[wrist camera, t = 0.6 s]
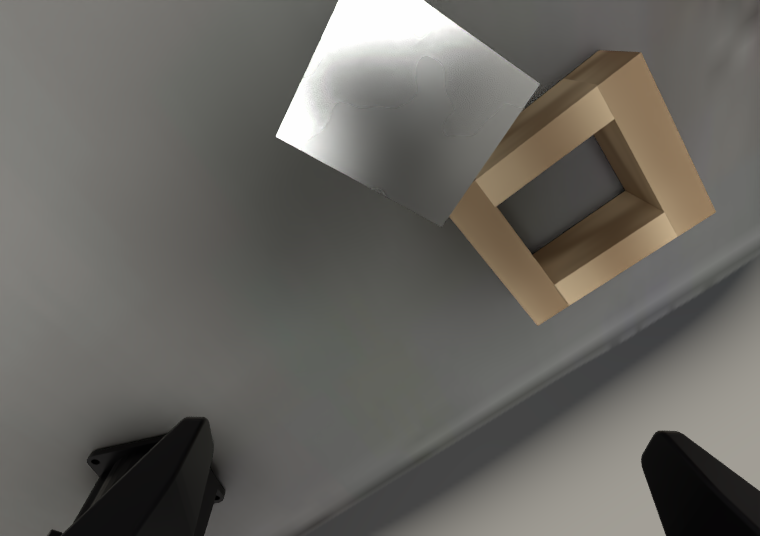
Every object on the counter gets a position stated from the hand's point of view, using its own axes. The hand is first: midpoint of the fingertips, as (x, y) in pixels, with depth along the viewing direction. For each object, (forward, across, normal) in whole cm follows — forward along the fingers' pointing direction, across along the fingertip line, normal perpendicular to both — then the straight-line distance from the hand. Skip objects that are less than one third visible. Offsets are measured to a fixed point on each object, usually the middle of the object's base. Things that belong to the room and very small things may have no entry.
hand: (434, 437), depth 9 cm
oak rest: (+14, -7, 0) cm, 16 cm away
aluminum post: (+14, +1, -5) cm, 15 cm away
